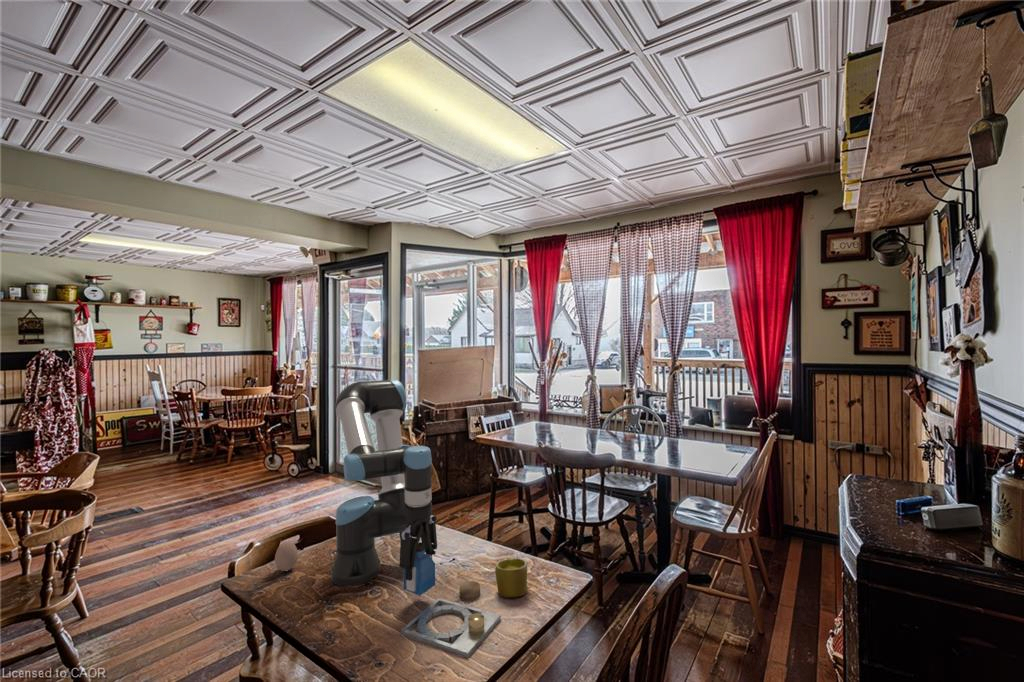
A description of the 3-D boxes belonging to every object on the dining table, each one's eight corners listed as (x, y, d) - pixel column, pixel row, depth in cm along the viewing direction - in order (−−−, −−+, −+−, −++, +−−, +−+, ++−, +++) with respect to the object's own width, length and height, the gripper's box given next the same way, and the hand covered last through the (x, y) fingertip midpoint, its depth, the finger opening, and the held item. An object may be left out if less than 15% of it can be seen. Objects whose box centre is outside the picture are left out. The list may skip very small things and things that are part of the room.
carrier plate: (400, 635, 111) (400, 618, 111) (438, 601, 126) (438, 586, 126) (467, 658, 102) (467, 639, 102) (500, 619, 116) (500, 603, 117)
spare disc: (455, 597, 128) (455, 589, 128) (466, 587, 133) (466, 579, 133) (473, 602, 125) (473, 593, 125) (483, 592, 130) (483, 583, 130)
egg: (293, 563, 151) (293, 535, 151) (301, 570, 146) (300, 540, 146) (272, 571, 146) (271, 541, 146) (279, 578, 141) (278, 547, 141)
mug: (529, 597, 123) (519, 559, 126) (496, 606, 125) (486, 568, 128) (539, 583, 135) (529, 549, 137) (508, 591, 137) (499, 557, 139)
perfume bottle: (419, 595, 121) (419, 552, 121) (403, 589, 124) (403, 546, 124) (435, 584, 126) (434, 543, 126) (419, 578, 130) (418, 538, 130)
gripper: (405, 517, 115) (407, 605, 115) (449, 493, 132) (450, 570, 132) (384, 512, 118) (385, 598, 118) (429, 489, 136) (430, 564, 136)
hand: (419, 583), depth 125 cm, fingers closed on perfume bottle, 6 cm apart
